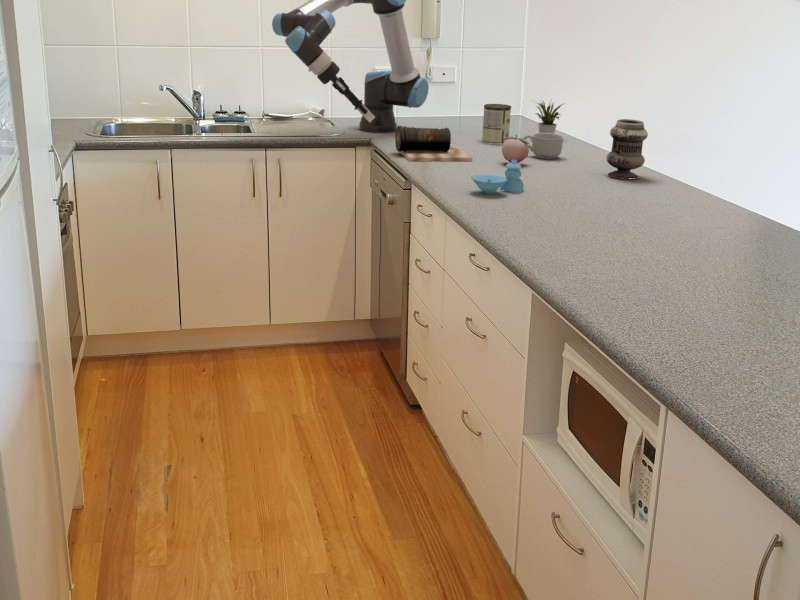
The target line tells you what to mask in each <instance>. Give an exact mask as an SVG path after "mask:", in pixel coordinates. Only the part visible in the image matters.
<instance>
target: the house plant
mask: <svg viewBox="0 0 800 600" xmlns="http://www.w3.org/2000/svg"><path fill="white" fill-rule="evenodd" d="M552 100H553V98H551V99H550V101H549V104H548V106H547V107H546V104H545V101H544V100H539V103H538V102H536V101H534V100H532V99H531V100H530V101H532V102H535V103H536V104H537V105H535V108H537V109H538V110H539V112H540V113H537V112H536V113H535V115H536V116H537V117H538V119H541V122H538V133H553V134H556V128H557V125H558V124H557V123H555V120H556V119H557V120H560V118H562V116H561V113H559V112H558V110H559V109H560V108H561V107H562V106H563V105H565V103H566V102H563V103H561V104H560V105H558V106H557V107H556V108H554V103H555V101H554V102H552ZM551 102H552V103H551ZM553 109H554V110H553Z"/></svg>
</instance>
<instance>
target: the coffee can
mask: <svg viewBox="0 0 800 600" xmlns="http://www.w3.org/2000/svg"><path fill="white" fill-rule="evenodd" d="M483 107H484V108H483V119H482V120H483V124H482V137H481V138H482V140H481V143H482V144H486V145H492V146H493V145H494V146H503V143H504V142H505V141H506V140H507V139H505V140H503V139H504V138H506V137H510V125H511V123H510V121H511V112H512V106H511V105H509V104H503V103H487V104H484V105H483ZM508 139H509V138H508Z"/></svg>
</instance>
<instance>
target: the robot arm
mask: <svg viewBox="0 0 800 600" xmlns="http://www.w3.org/2000/svg"><path fill="white" fill-rule="evenodd" d="M406 1H407V0H308V1H306V2H304V3H303V4H300V5H299V6H298V7H296V8H294V9H293V10H291V11H289V12H286V13H285V12H282V13H281V12H280V13H276V14H275V15H274V16H273V18H272V21H271V26H272V27H271V28H272V31H273V32H274V33H275V35H277V36H279V37H284V38H285V40H284V42H285V44H286V45H287V47H288V48H289V49H290V51H291V52H292V53H293V54H294V55H295V56H296V57H297V58H298V59H299V60H300V61H301V62H302V63H303V64H304V65H305V66H306V67H307V68H308V70H307V71H308V73H309V72H310V73H311V72H312V73H313V74H314V76H316V78H317V79H318V80H319V81H320V82H321V83H322V84H323V85H326V84H328V83H330V82H332V84H331V86H332V87H333V88H334V89H335V90H337V91H338V93H339V94H341V95H343V96H344V97H345V98H346V99H347V100H348V101H349V102H350V104H351V105H353V106H354V110H355V111H358V112H359V113H360V115H361V117H360V122H359V125H358V128H359V130H360V131H363V132H369V133H393V132H396V129H397V127H398V125H397V122H396V118H395V117H396V116H395V113H394V106H397V107H406V108H416V109H417V108H420V107H421V106H423V105H424V104H425V102H426V100H427V98H428V94H429V87H430V86H429V81H428V80H427V79H426V78H425V77H421V73H420V71H419V69H418V67H415V65H414V61H413V56H412V51H411V46H410V42H409V38H408V33H407V32H408V31H407V29H406V24H405V20H404V16H403V11H402V10H403V9H404V7H405V3H406ZM353 4H370V5H371V6H372V11H373V13H374V14H375V15H377V16H378V17H379V21H380V25H381V30H382V33H383V35H382V36H383V38H384V42H385V47H386V51H387V55H388V59H389V60H388V61H389V64H390V68H391V70H382V71H371V72H370V71H369V72H367V73H366V74H365V76H364V84H363V85H364V95H363V96H364V97H363V99H364V103H363V100H362V99H359V98H358V97H357V96H356V95H355V93H353V91H352V90H350V87H349V85H348V84H347V83H346V82H345V80H344V79H343V77H341V76H339V77H338V76H337V75H338V73H340V71H341V68H340V67H339V65H337V63H336V62H334V61H332V58H331V57H330V56H329V55H328V54H327V52H326V51H324V50H323V48H322V47H321V46H320V45H321V44H322V43H323V42H324V40H325V39H326V38H327V37H328V36H329V35H330V34H331V33H332V31H333V29H334V28H335V27H336V24H337V23H336V19H335V17H334V15H333V13H334V12H337V10H340V8H343V7H345V8H346V7H349V6H352V5H353Z"/></svg>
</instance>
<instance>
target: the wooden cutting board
mask: <svg viewBox="0 0 800 600" xmlns="http://www.w3.org/2000/svg"><path fill="white" fill-rule="evenodd" d="M399 153H400V154H401V155H402V156H403V157H404V158H405V159H406V160H407V161H408V162H473V157H472V156H471V155H469V154H468V153H467V152H465V151H463V150H462V149H461V148H460V147H458V146H453V145H452V146H451V145H450V149H449V151H448V152H444V151H421V150H414V151H407V150H406V151H405V152H404V151H403V150H402V151H401V152H399Z"/></svg>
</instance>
